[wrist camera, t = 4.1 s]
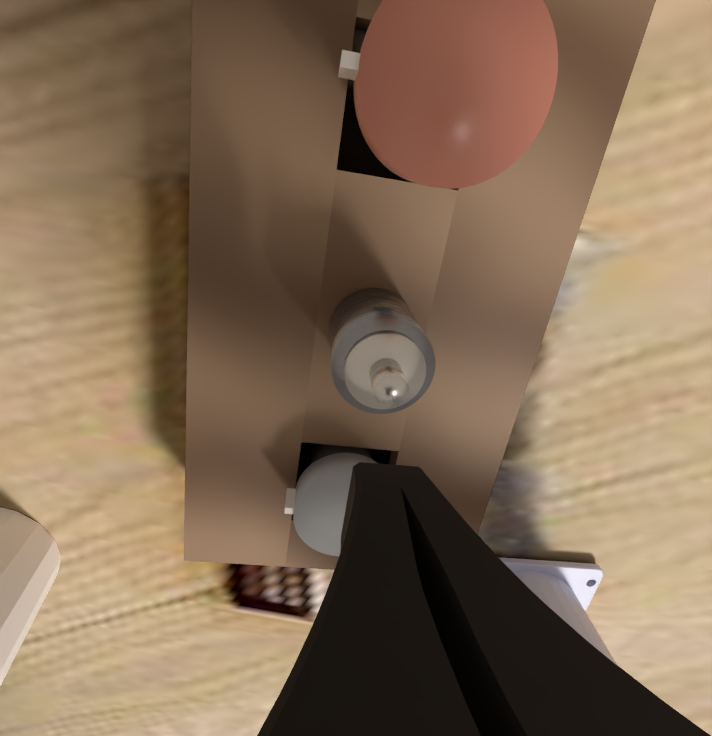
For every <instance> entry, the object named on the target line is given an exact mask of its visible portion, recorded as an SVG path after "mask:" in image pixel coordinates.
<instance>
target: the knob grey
mask: <svg viewBox="0 0 712 736" xmlns="http://www.w3.org/2000/svg"><path fill="white" fill-rule="evenodd" d="M359 462H365V463H377V462H376V461H374V460H373V459H372V453H371V449H370V448H359V447H348V446H338V445H327V444H317V443H311V465H309V466H308V467H307V468H306V469H305V470H304V472H303V473H302V474H301V476H300V478H299V479H298V482H297V485H296V489H294V488H287V492H286V501H285V510H284V514H294V517H293V520H294V526H295V529H296V531H297V533H298V535H299V537H300V538H301V539H302V540H303V541H304V543H306V544H307V545H308V546H309V547H311V548H312V549H314V550H316V551H318V552H321V553H324V554H327V555H331V556H339V555H340V551H341V533H342V527H343V521H344V516H345V510H346V504H347V498H348V492H349V487H350V481H351V475H352V469H353V466H354V465H356V464H357V463H359Z"/></svg>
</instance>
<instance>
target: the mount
mask: <svg viewBox="0 0 712 736" xmlns="http://www.w3.org/2000/svg"><path fill="white" fill-rule="evenodd" d="M543 1H544V3H545V5H546V7H547V9H548V11H549V14H550V17H551V19H552V22H553V26H554V30H555V34H556V39H557V49H558V73H557V82H556V88H555V92H554V97H553V101H552V103H551V106H550V109H549V112H548V115H547V117H546V119H545V121H544V124H543V126H542V128H541V129H540V131H539V133H538V134H537V136H536V138H535V139H534V141H533V142H532V143H531V145H530V146H529V147H528V149H527V150H526V151H525V152H524V153H523V154H522V155H521V157H520V158H519V159H518V160H517V161H516V162H514V163H513V164H512V165H511V166H510V167H508V168H507V169H506V170H504V171H503V172H501V173H500V174H498V175H497V176H495V177H493V178H491V179H489V180H487V181H485V182H482V183H479V184H476V185H473V186H469V187H464V188H453V189H446V188H436V187H431V186H426V185H421V184H417V183H412V182H406V181H400V180H394V179H388V178H383V177H377V176H371V175H365V174H359V173H353V172H347V171H342V170H337V162H338V154H339V147H340V139H341V131H342V123H343V116H344V108H345V100H346V92H347V85H348V79H345V78H340V77H338V74H339V66H340V59H341V54H342V50H346V51H351V52H352V46H353V38H354V31H355V28H356V29H360V30H365V31H367V29H368V27H369V25H370V23H371V20H372V18H373V16H374V14H375V12H376V10H377V9H378V7H379V5H380V4H381V2H382V0H192V41H191V110H190V178H189V247H188V315H187V383H186V452H185V520H184V561H200V562H217V563H234V564H250V565H267V566H284V567H300V568H317V569H334V570H335V567H336V564H337V561H338V558H339V556H331V555H327V554H324V553H321V552H318V551H316V550H314V549H312V548H311V547H309V546H308V545H307V544H306V543H304V541H303V540H302V539H301V538H300V537H299V535H298V533H297V531H296V529H295V526H294V520H293V517H294V514H284V510H285V501H286V492H287V488H294V489H296V485H297V482H298V481H296V479H297V471H298V464H299V456H300V448H301V442H306V443H317V444H327V445H338V446H348V447H359V448H370V449H380V450H391V454H390V459H389V463H388V464H391V465H404V466H416V467H420V468H421V469H422V470H423V471H424V473H425V474H426V475H427V476H428V477H429V479H430V480H431V481H432V482H433V483H434V485H435V486H436V487H437V488H438V489H439V491H440V492H441V493H442V494H443V495H444V497H445V498H446V499H447V500H448V501H449V503H450V504H451V505H452V506H453V507H454V508H455V510H456V511H457V512H458V513H459V514H460V515H461V517H462V518H463V519H464V520H465V521H466V522H467V524H468V525H469V526H470V527H471V528H472V529H473V530H474V531H475V533H476V534H477V533H478V530H479V527H480V524H481V521H482V518H483V515H484V512H485V509H486V506H487V503H488V500H489V497H490V494H491V492H492V489H493V486H494V483H495V480H496V477H497V474H498V471H499V468H500V465H501V462H502V459H503V456H504V453H505V450H506V447H507V444H508V441H509V438H510V435H511V432H512V429H513V426H514V423H515V420H516V417H517V414H518V411H519V408H520V405H521V402H522V399H523V396H524V393H525V390H526V387H527V384H528V381H529V378H530V375H531V372H532V369H533V366H534V363H535V360H536V357H537V354H538V351H539V348H540V345H541V342H542V339H543V336H544V333H545V330H546V327H547V324H548V321H549V318H550V315H551V312H552V309H553V306H554V303H555V300H556V297H557V294H558V291H559V288H560V285H561V282H562V279H563V276H564V273H565V270H566V267H567V264H568V261H569V258H570V255H571V252H572V249H573V246H574V243H575V240H576V237H577V234H578V231H579V228H580V225H581V222H582V219H583V216H584V214H585V211H586V208H587V205H588V202H589V199H590V196H591V193H592V190H593V187H594V184H595V181H596V178H597V175H598V172H599V169H600V166H601V163H602V160H603V157H604V154H605V151H606V148H607V145H608V142H609V139H610V136H611V133H612V130H613V127H614V124H615V121H616V118H617V115H618V112H619V109H620V106H621V103H622V100H623V97H624V94H625V91H626V88H627V85H628V82H629V79H630V76H631V73H632V70H633V67H634V64H635V61H636V58H637V55H638V52H639V49H640V46H641V43H642V40H643V37H644V34H645V31H646V28H647V25H648V22H649V19H650V16H651V13H652V10H653V7H654V4H655V1H656V0H543ZM364 288H382V289H386V290H389V291H391V292H393V293H395V294H396V295H398V296H399V297H400V298H401V299H402V300H403V301H404V302H405V303H406V304H407V306H408V307H409V309H410V311H411V312H412V314H413V315H414V317H415V319H416V320H417V322H418V324H419V325H420V327H421V328H422V330H423V332H424V333H425V335H426V336H427V338H428V340H429V341H430V343H431V345H432V347H433V350H434V354H435V361H436V365H435V373H434V377H433V380H432V382H431V384H430V386H429V388H428V389H427V391H426V392H425V393H424V395H423V396H422V397H421V398H420V399H419V400H418V401H416V402H415V403H414V404H412V405H411V406H409V407H407V408H405V409H403V410H400V411H397V412H393V413H388V414H374V413H368V412H365V411H362V410H359V409H357V408H355V407H354V406H352V405H350V404H349V403H348V402H347V401H346V400H345V399H344V398H343V397H342V396H341V395H340V393H339V392H338V390H337V388H336V386H335V384H334V381H333V377H332V365H331V347H330V321H331V317H332V314H333V312H334V310H335V308H336V307H337V305H338V304H339V303H340V302H341V301H342V300H343V299H344V298H345V297H346V296H348V295H349V294H351V293H353V292H355V291H357V290H360V289H364Z"/></svg>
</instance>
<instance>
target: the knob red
mask: <svg viewBox="0 0 712 736" xmlns="http://www.w3.org/2000/svg"><path fill="white" fill-rule="evenodd" d="M557 73H558V49H557V39H556V34H555V30H554V26H553V22H552V19H551V17H550V14H549V11H548V9H547V7H546V5H545V3H544V1H543V0H382V2H381V4H380V5H379V7H378V9H377V10H376V12H375V14H374V16H373V18H372V20H371V23H370V25H369V27H368V29H367V32H366V35H365V38H364V41H363V44H362V47H361V50H360V53H356V52H351V51H346V50H342V54H341V59H340V66H339V74H338V77H340V78H345V79H350V80H354V104H355V110H356V116H357V119H358V123H359V127H360V129H361V131H362V134H363V136H364V139H365V140H366V142H367V144H368V146H369V148H370V149H371V151H372V152H373V153H374V155H375V156H376V157H377V159H378V160H379V161H380V162H381V163H382V164H383V165H384V166H385V167H387V168H388V169H389V170H390V171H392V172H393V173H394V174H396V175H398V176H400V177H401V178H403V179H405V180H408V181H410V182H413V183H417V184H421V185H426V186H431V187H436V188H446V189H453V188H464V187H469V186H473V185H476V184H479V183H482V182H485V181H487V180H489V179H491V178H493V177H495V176H497V175H498V174H500V173H501V172H503V171H504V170H506V169H507V168H508V167H510V166H511V165H512V164H513V163H514V162H516V161H517V160H518V159H519V158H520V157H521V155H522V154H523V153H524V152H525V151H526V150H527V149H528V147H529V146H530V145H531V143H532V142H533V141H534V139H535V138H536V136H537V134H538V133H539V131H540V129H541V128H542V126H543V124H544V121H545V119H546V117H547V115H548V112H549V109H550V106H551V103H552V101H553V97H554V92H555V88H556V82H557Z"/></svg>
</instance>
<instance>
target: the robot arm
mask: <svg viewBox="0 0 712 736" xmlns="http://www.w3.org/2000/svg"><path fill="white" fill-rule="evenodd" d="M602 577H603V571H602V569H601V568H600V566H599V565H597V564H590V563H575V562H560V561H545V560H530V559H515V558H500V557H498V556H497V555H496V554H495V553H494V552H493V551H492V550H491V549H490V548H489V547H488V546H487V545H486V544H485V543H484V541H483V540H482V539H481V538H480V537H479V536H478V535H477V534H476V533H475V531H474V530H473V529H472V528H471V527H470V526H469V525H468V524H467V522H466V521H465V520H464V519H463V518H462V517H461V515H460V514H459V513H458V512H457V511H456V510H455V508H454V507H453V506H452V505H451V504H450V503H449V501H448V500H447V499H446V498H445V497H444V495H443V494H442V493H441V492H440V491H439V489H438V488H437V487H436V486H435V485H434V483H433V482H432V481H431V480H430V479H429V477H428V476H427V475H426V474H425V473H424V471H423V470H422V469H421V468H420V467H416V466H404V465H391V464H378V463H365V462H359V463H357V464H356V465H354V466H353V469H352V475H351V481H350V487H349V492H348V498H347V504H346V510H345V516H344V521H343V527H342V533H341V551H340V555H339V558H338V561H337V564H336V567H335V570H334V573H333V576H332V579H331V582H330V584H329V587H328V590H327V592H326V595H325V597H324V600H323V602H322V605H321V607H320V609H319V612H318V614H317V616H316V619H315V621H314V624H313V626H312V628H311V630H310V633H309V635H308V637H307V639H306V641H305V643H304V645H303V648H302V650H301V652H300V654H299V656H298V658H297V660H296V663H295V665H294V667H293V669H292V671H291V673H290V675H289V677H288V679H287V681H286V683H285V685H284V687H283V689H282V691H281V693H280V695H279V697H278V698H277V700H276V702H275V704H274V706H273V708H272V710H271V711H270V713H269V715H268V717H267V719H266V721H265V722H264V724H263V726H262V728H261V730H260V732H259V734H258V735H257V736H710V735H709V734H708V733H706V732H705V731H703V730H702V729H701V728H699V727H698V726H696V725H695V724H694V723H692V722H691V721H690V720H688V719H687V718H685V717H684V716H683V715H681V714H680V713H679V712H677V711H676V710H675V709H673V708H672V707H670V706H669V705H668V704H666V703H665V702H664V701H662V700H661V699H660V698H658V697H657V696H656V695H655V694H653V693H652V692H651V691H649V690H648V689H647V688H646V687H644V686H643V685H642V684H640V683H639V682H638V681H637V680H635V679H634V678H633V677H631V676H630V675H629V674H628V673H626V672H625V671H624V670H623V669H621V668H620V667H619V666H617V664H616V662H615V661H614V659H613V657H612V656H611V654H610V652H609V651H608V649H607V647H606V646H605V644H604V642H603V641H602V639H601V637H600V635H599V634H598V632H597V630H596V629H595V627H594V625H593V624H592V622H591V620H590V619H589V617H588V615H587V614H586V612H585V611H586V609H587V607H588V605H589V603H590V601H591V599H592V597H593V595H594V593H595V591H596V589H597V587H598V585H599V583H600V581H601V579H602Z"/></svg>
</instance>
